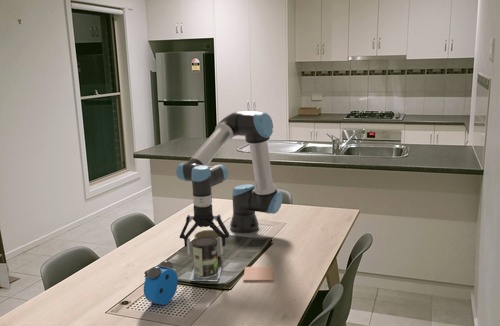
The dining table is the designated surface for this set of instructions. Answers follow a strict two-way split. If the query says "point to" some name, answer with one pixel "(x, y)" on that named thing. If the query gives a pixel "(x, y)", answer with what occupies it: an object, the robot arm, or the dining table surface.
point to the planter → (210, 234)
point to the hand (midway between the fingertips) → (205, 253)
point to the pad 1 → (206, 278)
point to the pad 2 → (258, 274)
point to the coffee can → (205, 257)
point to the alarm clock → (161, 284)
